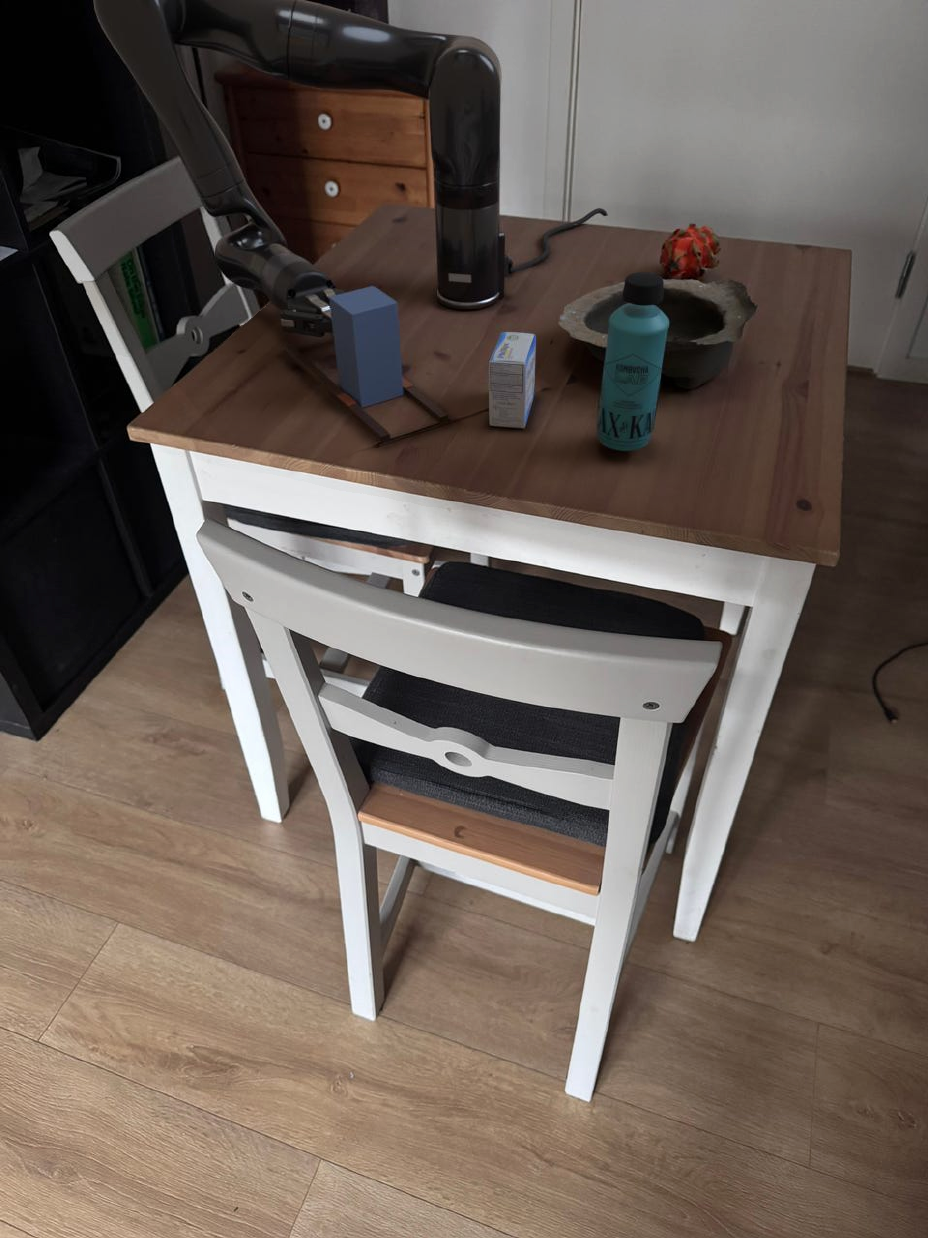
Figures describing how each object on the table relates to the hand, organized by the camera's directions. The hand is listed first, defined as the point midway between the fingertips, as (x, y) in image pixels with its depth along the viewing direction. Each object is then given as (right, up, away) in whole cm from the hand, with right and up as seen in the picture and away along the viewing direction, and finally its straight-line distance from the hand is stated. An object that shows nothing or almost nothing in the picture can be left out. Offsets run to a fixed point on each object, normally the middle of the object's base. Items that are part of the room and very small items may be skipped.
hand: (355, 335), depth 111 cm
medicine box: (+19, -10, -1) cm, 22 cm away
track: (0, -5, +5) cm, 7 cm away
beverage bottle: (+32, -16, -7) cm, 36 cm away
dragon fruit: (+48, +18, +29) cm, 59 cm away
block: (+2, -6, +2) cm, 7 cm away
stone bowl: (+38, -1, +9) cm, 39 cm away
